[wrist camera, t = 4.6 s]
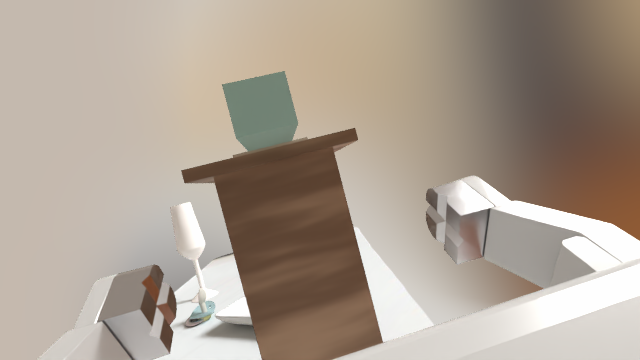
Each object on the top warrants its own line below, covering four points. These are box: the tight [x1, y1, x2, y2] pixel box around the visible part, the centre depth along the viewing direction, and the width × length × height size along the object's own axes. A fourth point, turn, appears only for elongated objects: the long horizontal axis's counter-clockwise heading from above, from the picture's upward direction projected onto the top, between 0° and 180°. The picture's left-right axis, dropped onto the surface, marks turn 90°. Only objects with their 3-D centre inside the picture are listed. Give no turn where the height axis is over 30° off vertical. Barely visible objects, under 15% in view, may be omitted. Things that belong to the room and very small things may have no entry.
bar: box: [222, 71, 298, 151], centre depth 28 cm, size 19×4×3 cm, turn 7°
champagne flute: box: [170, 202, 218, 303], centre depth 85 cm, size 7×7×24 cm
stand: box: [182, 128, 383, 360], centre depth 34 cm, size 15×14×26 cm
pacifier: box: [186, 288, 215, 326], centre depth 69 cm, size 7×6×6 cm
